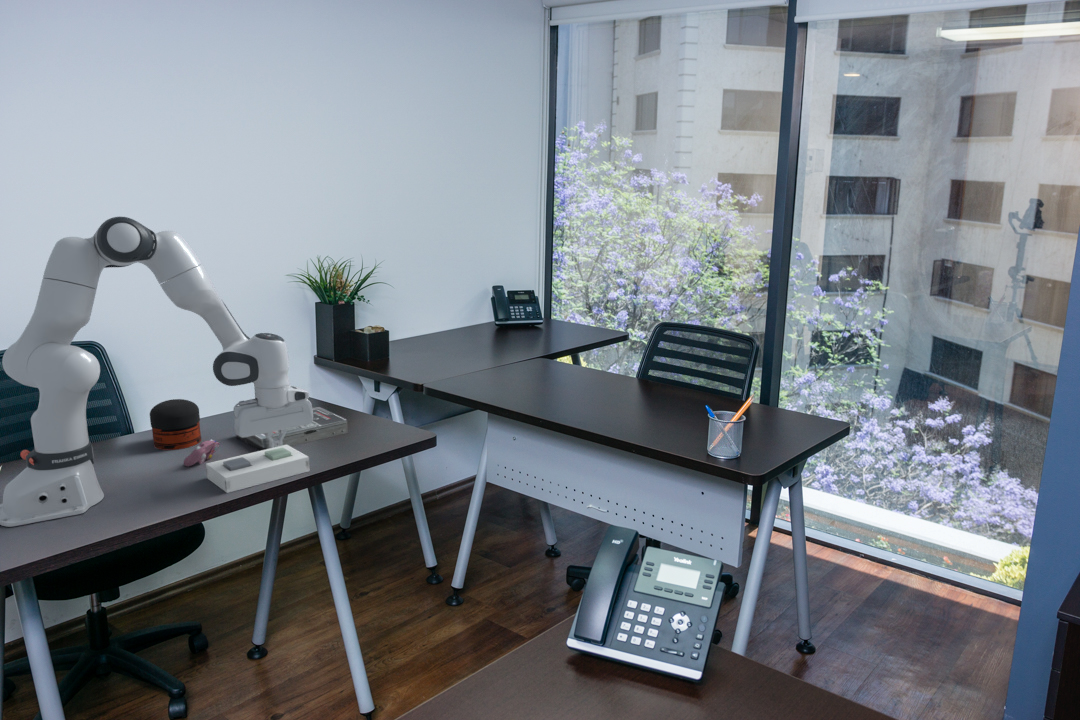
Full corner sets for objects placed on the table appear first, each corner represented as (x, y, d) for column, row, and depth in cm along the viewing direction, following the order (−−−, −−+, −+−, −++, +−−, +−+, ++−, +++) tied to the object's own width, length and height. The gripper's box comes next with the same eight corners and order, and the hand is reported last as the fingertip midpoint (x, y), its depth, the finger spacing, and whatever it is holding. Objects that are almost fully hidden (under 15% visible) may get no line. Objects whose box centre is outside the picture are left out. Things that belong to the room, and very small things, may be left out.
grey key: (231, 478, 203) (230, 466, 202) (224, 472, 207) (223, 461, 206) (251, 473, 206) (250, 462, 206) (243, 467, 210) (242, 457, 209)
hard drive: (236, 438, 240) (235, 424, 239) (320, 419, 257) (319, 406, 256) (262, 454, 226) (261, 439, 225) (349, 433, 244) (348, 419, 243)
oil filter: (144, 443, 234) (167, 453, 226) (140, 403, 231) (162, 411, 223) (187, 432, 243) (210, 441, 236) (183, 393, 241) (206, 401, 233)
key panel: (227, 493, 199) (225, 477, 198) (207, 478, 208) (205, 463, 207) (309, 471, 213) (308, 456, 212) (287, 458, 222) (286, 444, 221)
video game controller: (195, 473, 215) (203, 452, 213) (180, 465, 216) (189, 443, 214) (216, 460, 225) (225, 440, 223) (202, 452, 225) (211, 432, 223)
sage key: (273, 467, 210) (272, 456, 209) (265, 462, 214) (264, 451, 213) (291, 462, 213) (291, 452, 213) (283, 457, 217) (282, 447, 216)
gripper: (237, 405, 200) (241, 458, 203) (314, 391, 213) (317, 441, 216) (228, 399, 204) (232, 451, 207) (303, 386, 218) (306, 435, 221)
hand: (276, 446), depth 212 cm, fingers closed
